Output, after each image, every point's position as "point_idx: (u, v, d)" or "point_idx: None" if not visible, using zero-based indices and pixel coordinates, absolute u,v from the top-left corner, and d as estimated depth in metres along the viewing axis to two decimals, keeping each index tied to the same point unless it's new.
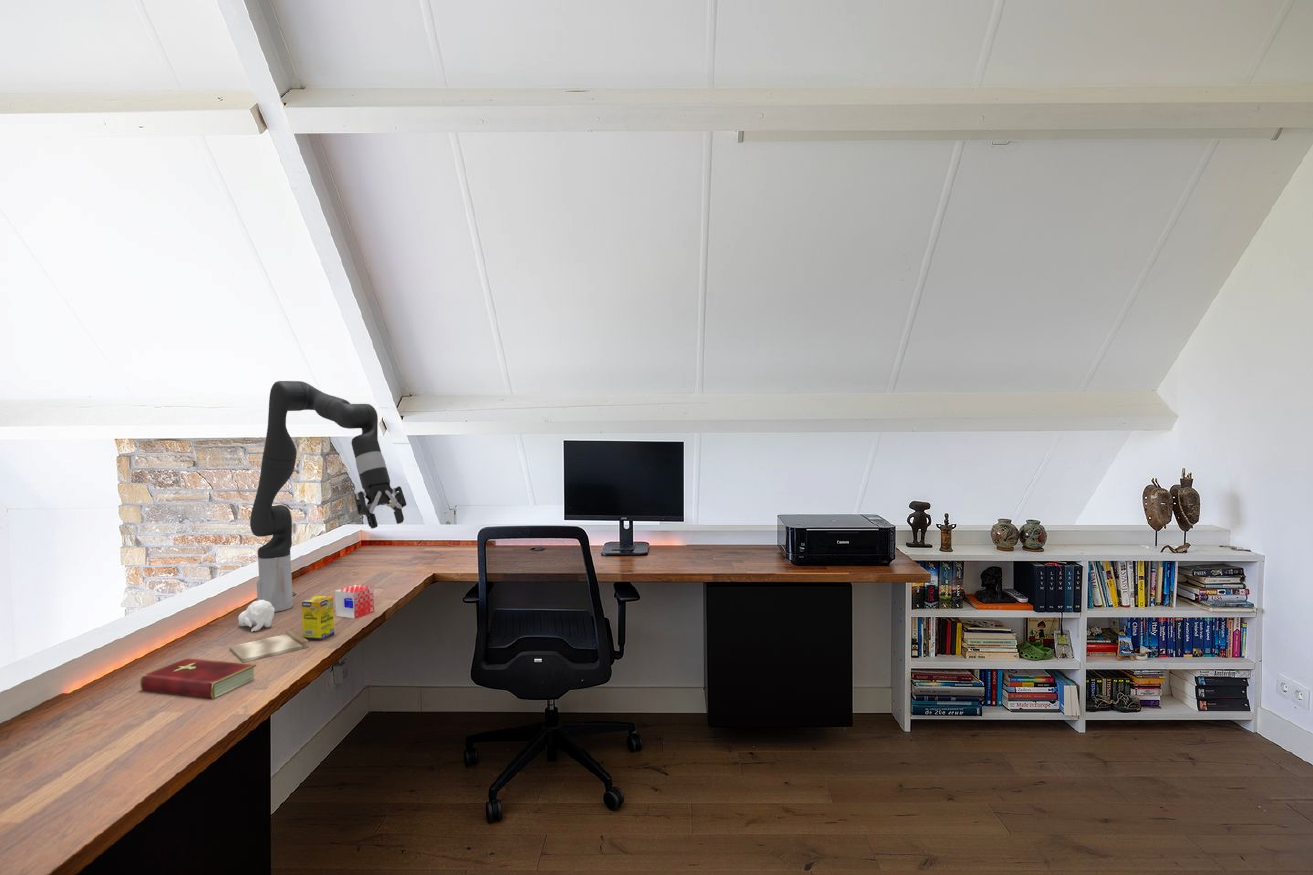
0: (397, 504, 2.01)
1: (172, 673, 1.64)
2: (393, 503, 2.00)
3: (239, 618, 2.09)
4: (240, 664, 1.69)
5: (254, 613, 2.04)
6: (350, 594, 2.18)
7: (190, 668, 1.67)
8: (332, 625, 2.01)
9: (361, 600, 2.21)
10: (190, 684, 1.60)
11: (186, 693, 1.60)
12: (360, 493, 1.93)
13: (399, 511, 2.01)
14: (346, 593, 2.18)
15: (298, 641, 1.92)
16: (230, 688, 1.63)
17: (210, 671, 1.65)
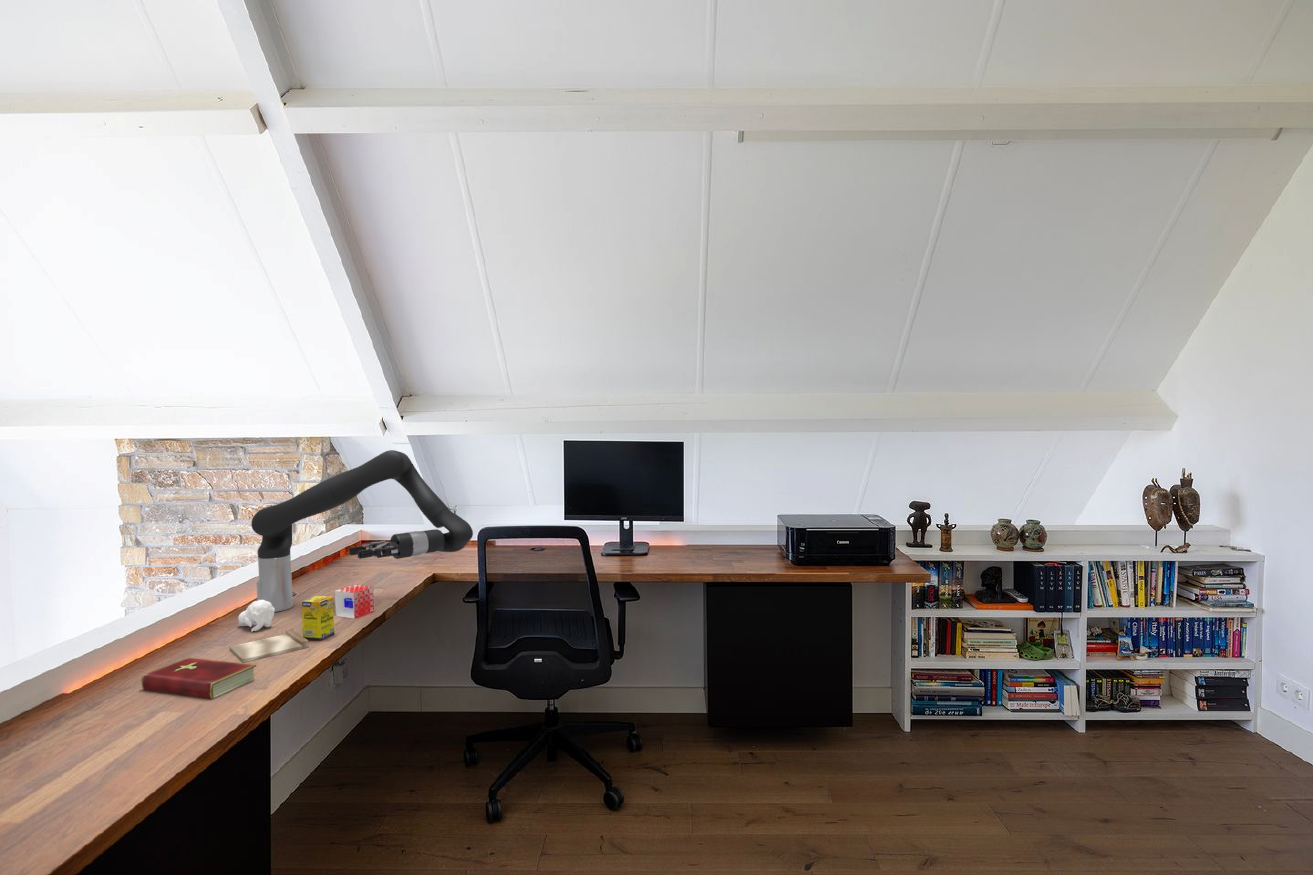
0: None
1: (173, 673, 1.65)
2: None
3: (239, 618, 2.09)
4: (240, 664, 1.69)
5: (254, 613, 2.04)
6: (350, 594, 2.18)
7: (191, 668, 1.67)
8: (332, 625, 2.01)
9: (361, 600, 2.21)
10: (190, 684, 1.60)
11: (185, 692, 1.60)
12: (396, 555, 2.08)
13: None
14: (346, 593, 2.18)
15: (298, 641, 1.92)
16: (229, 688, 1.63)
17: (210, 671, 1.65)
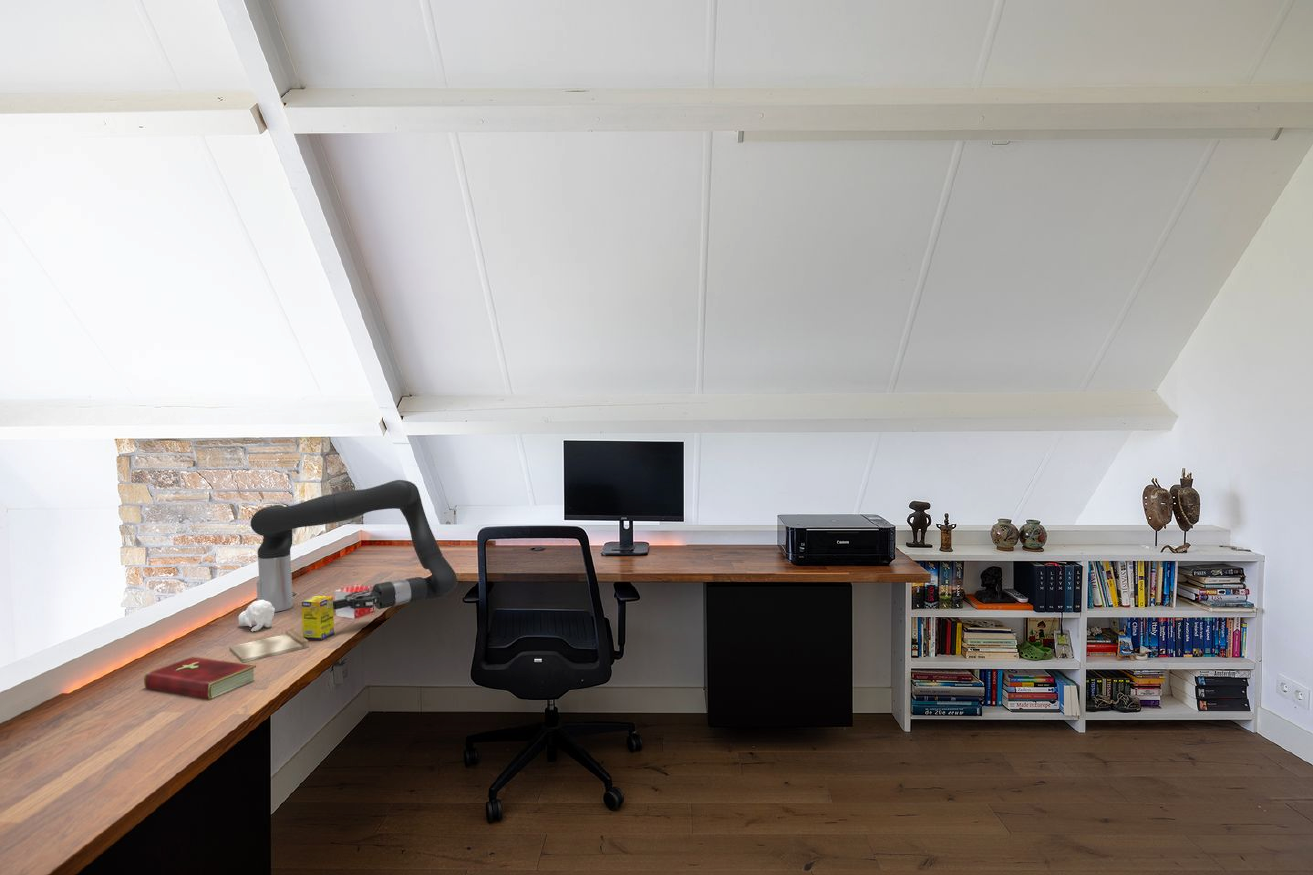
0: None
1: (174, 672, 1.65)
2: None
3: (239, 618, 2.09)
4: (240, 665, 1.69)
5: (254, 613, 2.04)
6: None
7: (192, 667, 1.67)
8: (332, 625, 2.01)
9: None
10: (189, 684, 1.60)
11: (185, 692, 1.60)
12: (370, 607, 2.04)
13: None
14: (346, 593, 2.18)
15: (298, 641, 1.92)
16: (228, 689, 1.62)
17: (210, 671, 1.65)
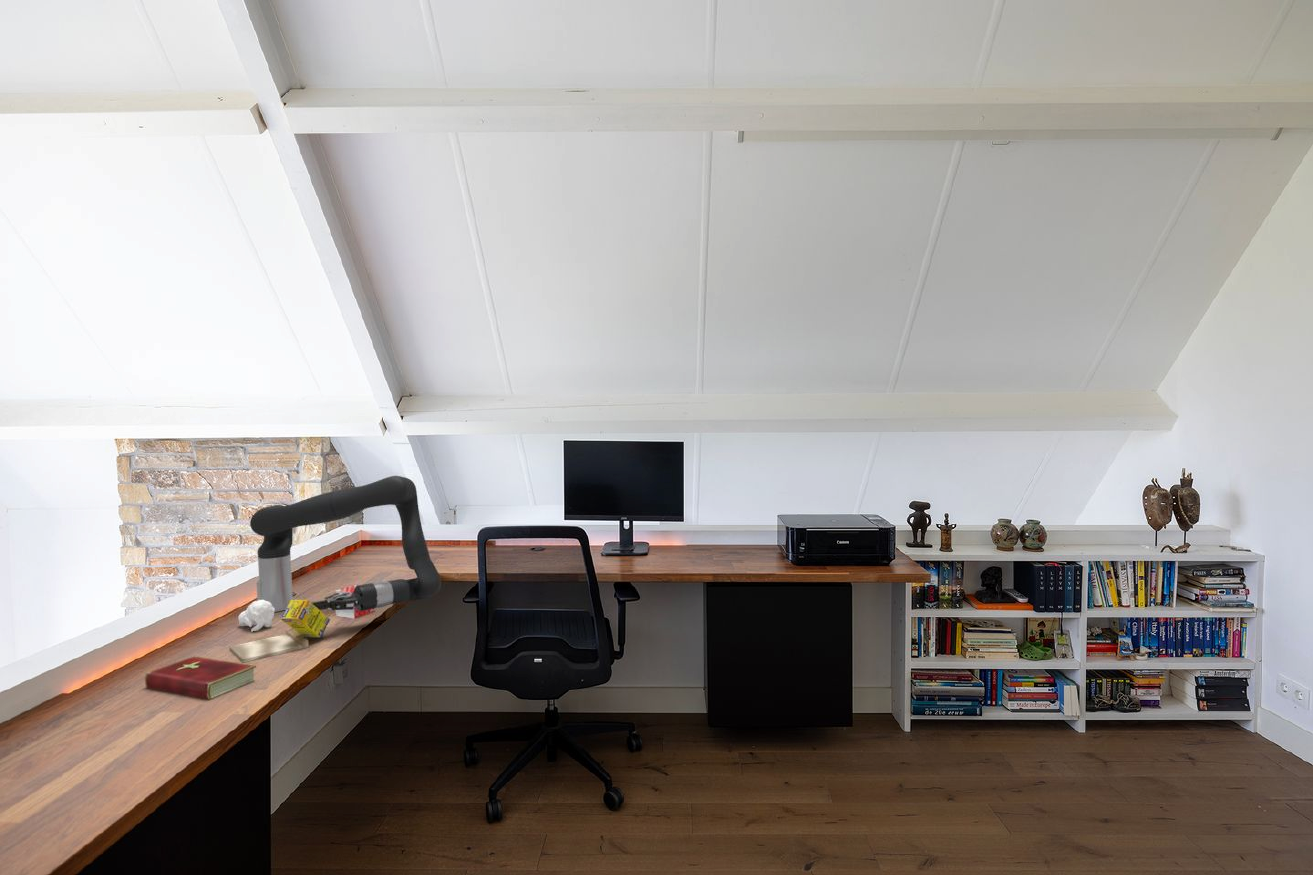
0: None
1: (175, 671, 1.65)
2: None
3: (239, 618, 2.09)
4: (240, 665, 1.69)
5: (254, 613, 2.04)
6: None
7: (193, 667, 1.67)
8: (324, 616, 1.98)
9: None
10: (188, 683, 1.60)
11: (185, 692, 1.60)
12: (350, 609, 1.99)
13: None
14: None
15: (298, 641, 1.92)
16: (228, 689, 1.62)
17: (210, 671, 1.65)
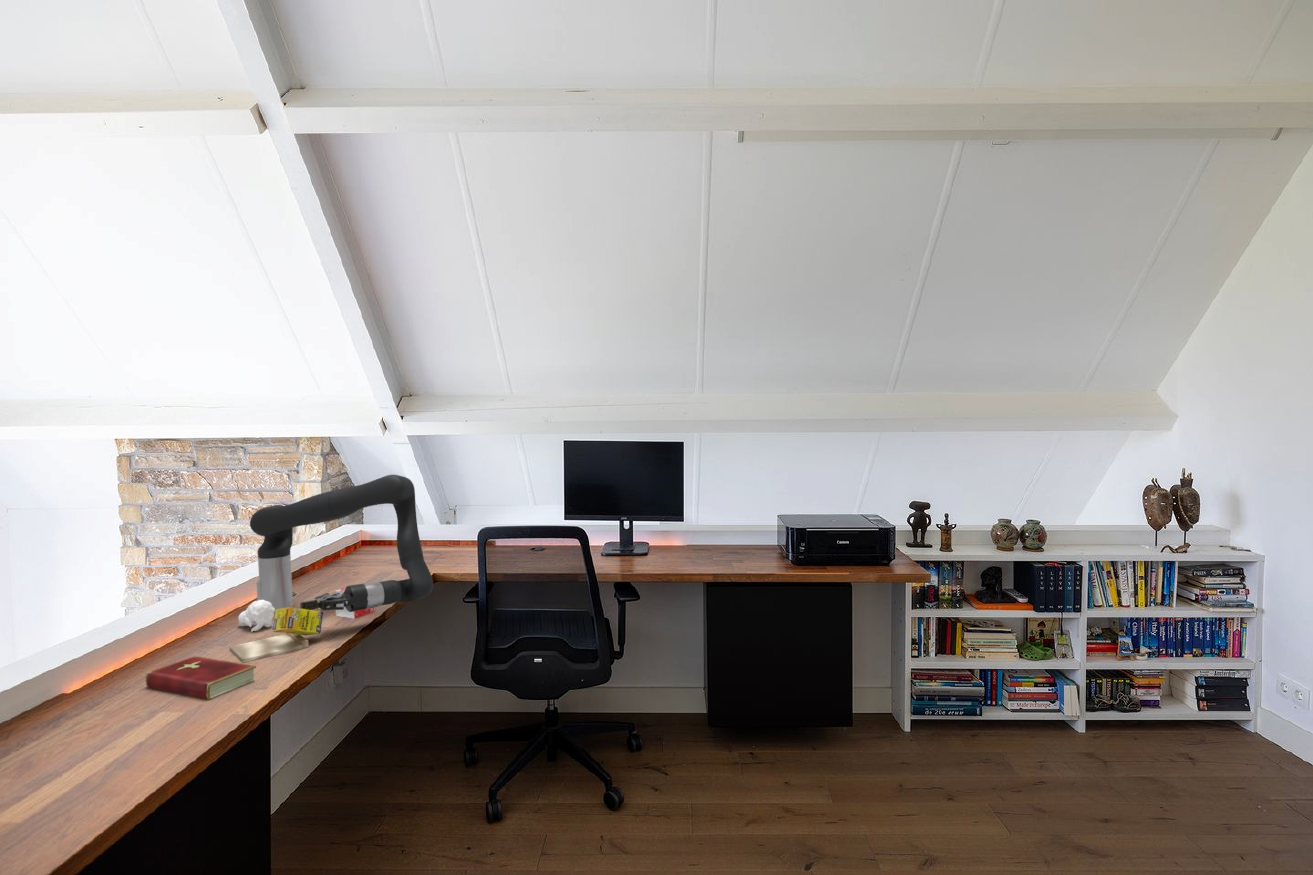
0: None
1: (175, 671, 1.66)
2: None
3: (239, 618, 2.09)
4: (241, 665, 1.69)
5: (254, 613, 2.04)
6: None
7: (193, 667, 1.68)
8: (315, 613, 1.95)
9: None
10: (188, 683, 1.60)
11: (184, 692, 1.60)
12: None
13: None
14: None
15: (298, 641, 1.92)
16: (227, 689, 1.62)
17: (210, 671, 1.65)
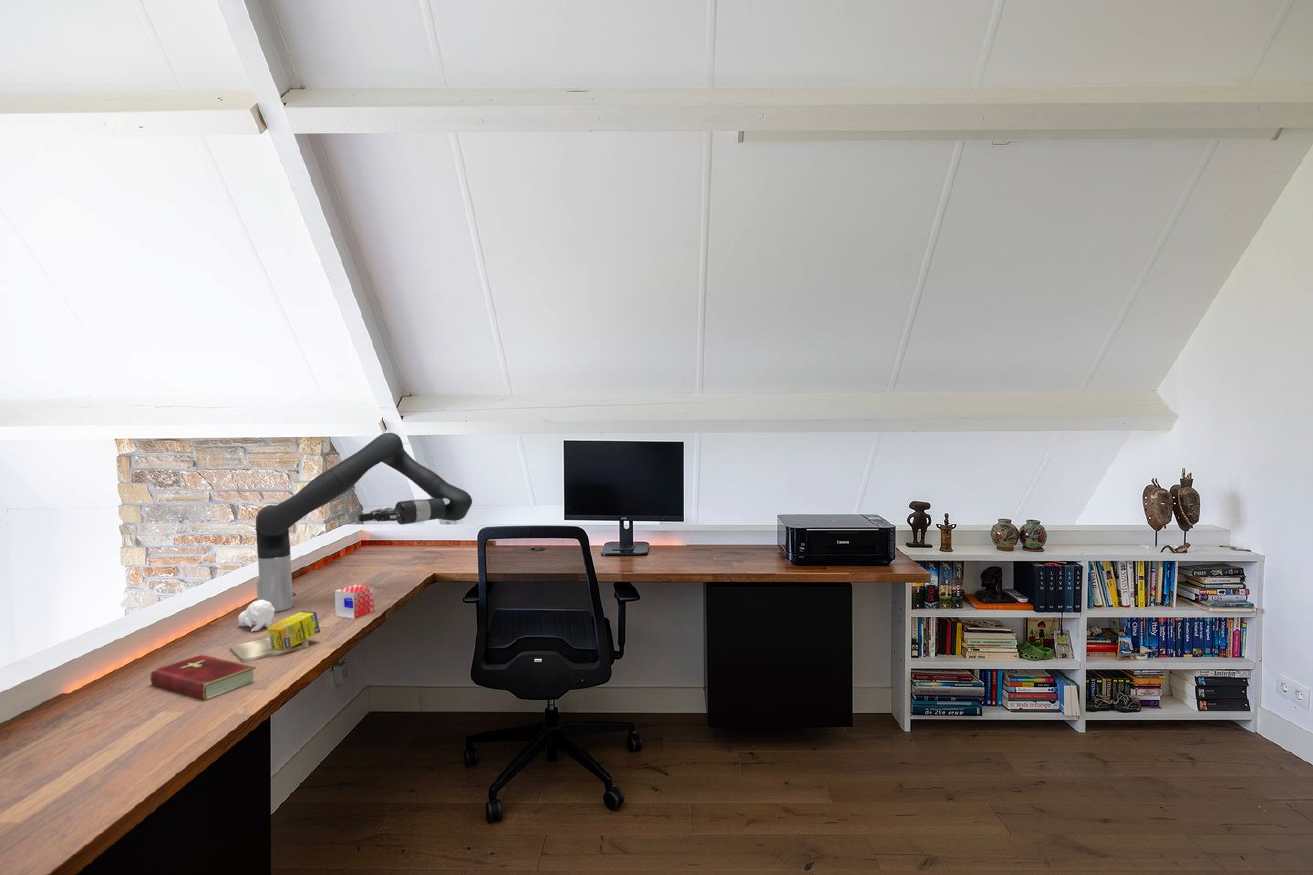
0: None
1: (178, 670, 1.66)
2: None
3: (239, 618, 2.09)
4: (241, 665, 1.68)
5: (254, 613, 2.04)
6: (350, 594, 2.18)
7: (196, 666, 1.68)
8: (308, 618, 1.92)
9: (361, 600, 2.21)
10: (187, 683, 1.60)
11: (184, 691, 1.61)
12: (394, 520, 2.22)
13: None
14: (346, 593, 2.18)
15: None
16: (225, 690, 1.62)
17: (210, 671, 1.65)
